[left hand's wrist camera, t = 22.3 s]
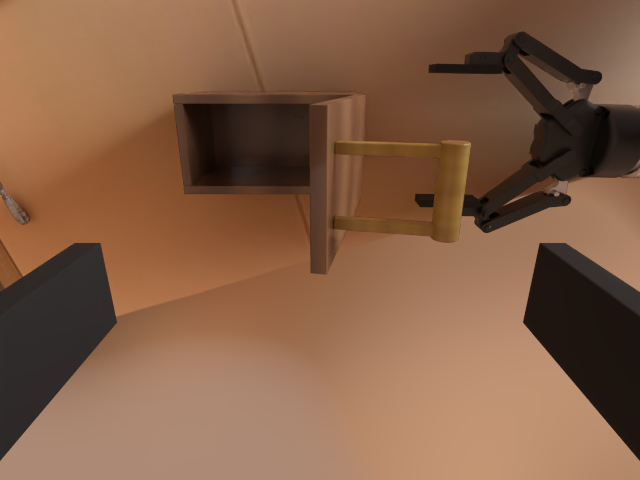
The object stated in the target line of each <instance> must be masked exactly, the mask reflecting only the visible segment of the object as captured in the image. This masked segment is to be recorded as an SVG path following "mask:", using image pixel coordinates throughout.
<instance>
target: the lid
mask: <svg viewBox="0 0 640 480" xmlns="http://www.w3.org/2000/svg"><path fill="white" fill-rule="evenodd" d="M365 119H366V95H352V96H348V97H343V98H338V99H334V100H329V101H325V102H320V103H315V104H311V105H309V130H310V252H311V273H317V274H327V272H328V270H329V268H330V265H331V263H332V261H333V259H334V257H335V255H336V252H337V250H338V248H339V246H340V244H341V241H342V239H343V237H344V235H345V233H346V231H347V230H351V231H364V232H378V233H392V234H405V235H419V236H431V238H432V239H433V240H436V241H439V242H445V243H451V242H456V241H457V240H458V239H459V231H460V224H461V216H462V209H463V201H464V194H465V186H466V179H467V171H468V164H469V156H470V148H471V143H470V142H468V141H460V140H444V141H441V142H440V144H435V143H402V142H368V141H365ZM364 155H365V156H392V157H420V158H438V168H437V177H436V187H435V196H434V206H433V215H432V222H426V221H411V220H396V219H381V218H366V217H353V215H354V213H355V211H356V209H357V206H358V204H359V202H360V200H361V198H362V194H363V169H364Z"/></svg>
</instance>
